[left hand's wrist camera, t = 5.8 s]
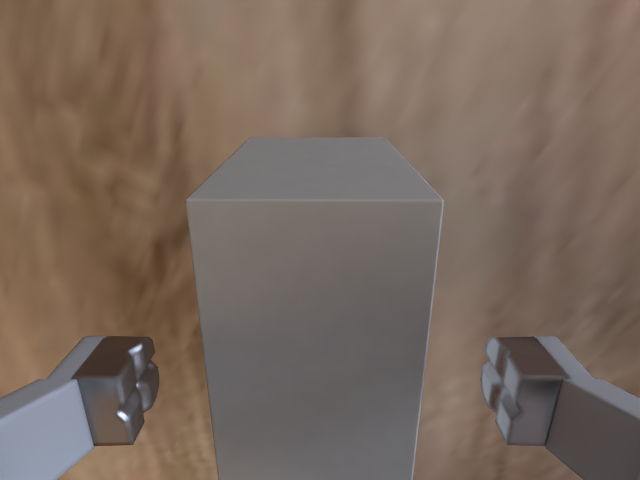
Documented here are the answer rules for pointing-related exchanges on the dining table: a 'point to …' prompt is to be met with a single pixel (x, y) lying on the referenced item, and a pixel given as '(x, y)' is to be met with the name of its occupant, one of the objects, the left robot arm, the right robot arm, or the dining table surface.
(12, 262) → the dining table surface
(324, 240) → the bar
